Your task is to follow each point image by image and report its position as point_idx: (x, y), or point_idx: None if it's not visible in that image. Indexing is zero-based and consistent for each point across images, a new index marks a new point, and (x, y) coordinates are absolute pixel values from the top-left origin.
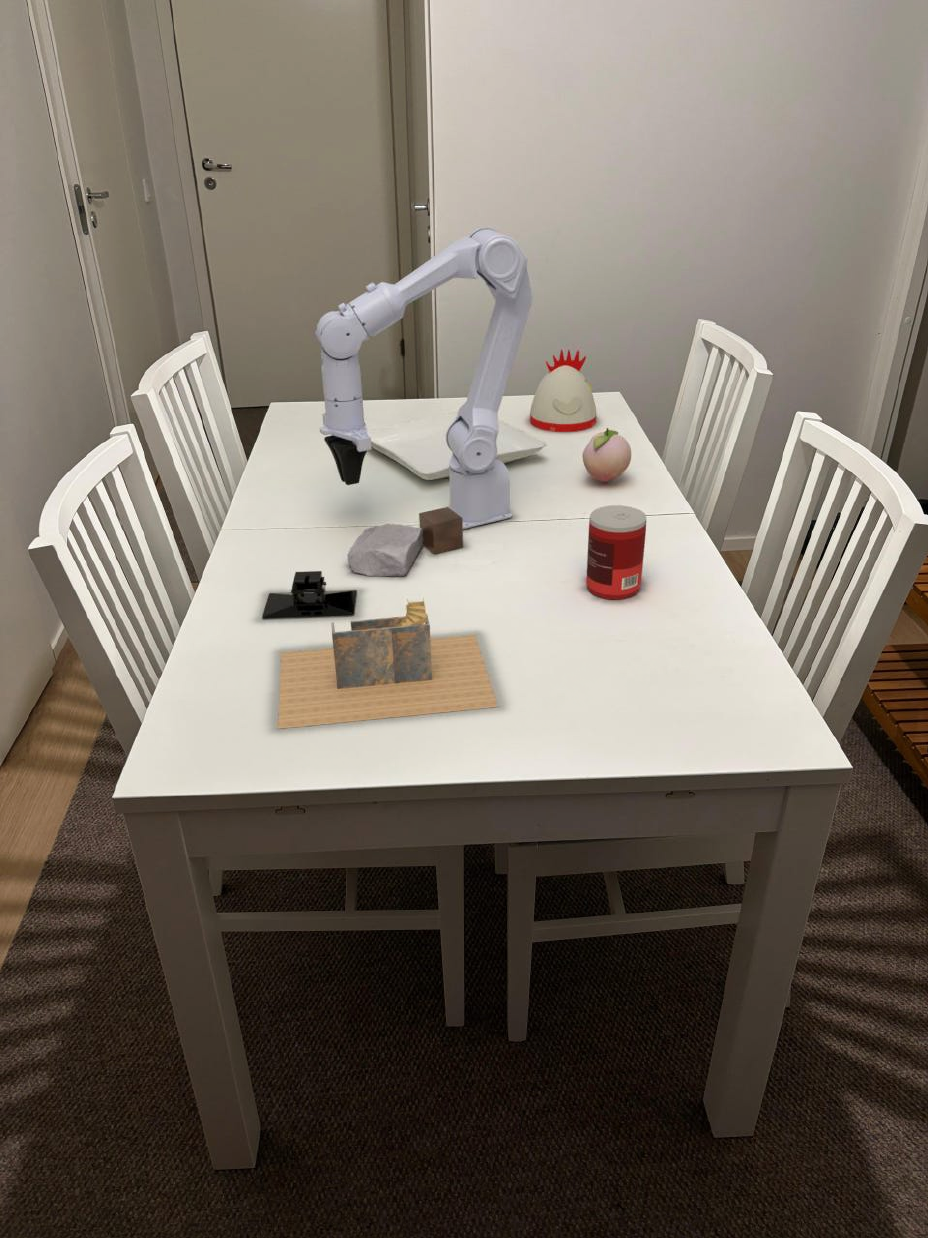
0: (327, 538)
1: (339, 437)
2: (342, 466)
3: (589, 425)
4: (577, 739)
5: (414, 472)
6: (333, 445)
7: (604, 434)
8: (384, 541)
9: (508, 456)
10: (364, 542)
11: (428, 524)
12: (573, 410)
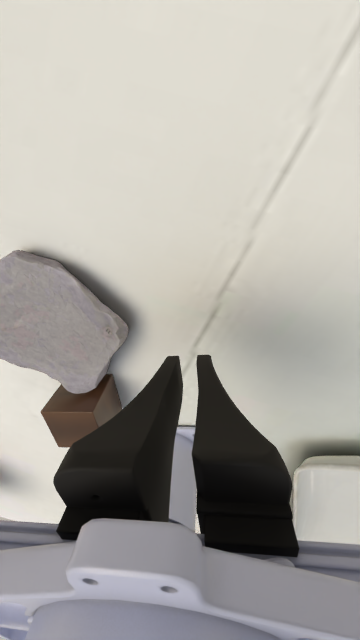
0: (184, 250)
1: (203, 515)
2: (146, 392)
3: None
4: None
5: (340, 458)
6: (105, 461)
7: None
8: (16, 329)
9: None
10: (58, 300)
11: (60, 406)
12: None
